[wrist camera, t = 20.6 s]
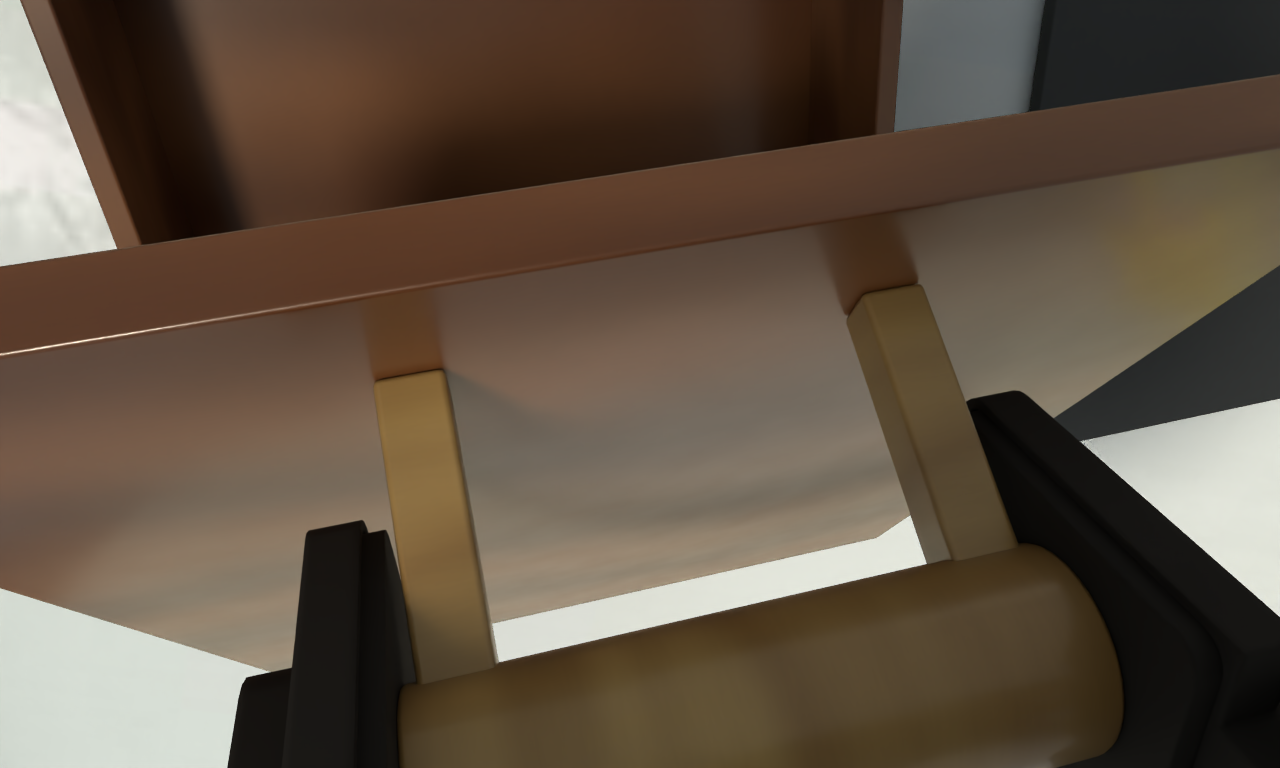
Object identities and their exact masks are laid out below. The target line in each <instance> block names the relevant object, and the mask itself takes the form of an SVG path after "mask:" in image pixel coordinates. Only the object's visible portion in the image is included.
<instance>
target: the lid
mask: <svg viewBox="0 0 1280 768" xmlns="http://www.w3.org/2000/svg"><path fill="white" fill-rule="evenodd" d="M1279 265H1280V74H1278V75H1271V76H1265V77H1258V78H1251V79H1245V80H1238V81H1231V82H1225V83H1218V84H1212V85H1205V86H1198V87H1192V88H1185V89H1178V90H1172V91H1165V92H1158V93H1152V94H1145V95H1138V96H1132V97H1125V98H1118V99H1112V100H1105V101H1098V102H1092V103H1085V104H1078V105H1072V106H1065V107H1059V108H1052V109H1045V110H1039V111H1032V112H1025V113H1019V114H1012V115H1005V116H999V117H992V118H985V119H979V120H972V121H965V122H959V123H952V124H945V125H939V126H932V127H925V128H919V129H912V130H906V131H899V132H892V133H886V134H879V135H872V136H866V137H859V138H852V139H846V140H839V141H832V142H826V143H819V144H812V145H806V146H799V147H792V148H786V149H779V150H772V151H766V152H759V153H752V154H746V155H739V156H733V157H726V158H719V159H713V160H706V161H699V162H693V163H686V164H679V165H673V166H666V167H659V168H653V169H646V170H639V171H633V172H626V173H619V174H613V175H606V176H599V177H593V178H586V179H580V180H573V181H566V182H560V183H553V184H546V185H540V186H533V187H526V188H520V189H513V190H506V191H500V192H493V193H486V194H480V195H473V196H466V197H460V198H453V199H446V200H440V201H433V202H427V203H420V204H413V205H407V206H400V207H393V208H387V209H380V210H373V211H367V212H360V213H353V214H347V215H340V216H333V217H327V218H320V219H313V220H307V221H300V222H293V223H287V224H280V225H274V226H267V227H260V228H254V229H247V230H240V231H234V232H227V233H220V234H214V235H207V236H200V237H194V238H187V239H180V240H174V241H167V242H160V243H154V244H147V245H140V246H134V247H127V248H121V249H114V250H107V251H101V252H94V253H87V254H81V255H74V256H67V257H61V258H54V259H47V260H41V261H34V262H27V263H21V264H14V265H7V266H1V267H0V588H1V589H5V590H8V591H11V592H14V593H18V594H21V595H24V596H27V597H31V598H34V599H37V600H40V601H43V602H47V603H50V604H53V605H56V606H60V607H63V608H66V609H69V610H72V611H76V612H79V613H82V614H85V615H89V616H92V617H95V618H98V619H102V620H105V621H108V622H111V623H114V624H118V625H121V626H124V627H127V628H131V629H134V630H137V631H140V632H143V633H147V634H150V635H153V636H156V637H160V638H163V639H166V640H169V641H173V642H176V643H179V644H182V645H185V646H189V647H192V648H195V649H198V650H202V651H205V652H208V653H211V654H215V655H218V656H221V657H224V658H227V659H231V660H234V661H237V662H240V663H244V664H247V665H250V666H253V667H256V668H260V669H263V670H266V671H269V672H274V671H278V670H283V669H287V668H292V661H293V652H294V642H295V632H296V622H297V613H298V603H299V593H300V584H301V574H302V564H303V554H304V545H305V537H306V533H307V532H308V531H309V530H314V529H319V528H324V527H329V526H334V525H339V524H344V523H349V522H354V521H359V520H363V521H364V522H365V524H366V526H367V529H368V532H369V533H371V532H376V531H380V530H387V532H388V535H389V538H390V541H391V545H392V549H393V552H394V556H395V560H396V563H397V567H398V571H399V575H400V578H401V583H402V590H403V597H404V604H405V611H406V618H407V625H408V631H409V638H410V645H411V652H412V659H413V666H414V672H415V679H416V682H412V683H408V684H406V685H404V686H403V687H402V688H401V690H400V693H399V698H398V706H397V746H398V761H399V768H1057V767H1061V766H1064V765H1068V764H1072V763H1075V762H1079V761H1083V760H1086V759H1090V758H1094V757H1097V756H1100V755H1102V754H1104V753H1105V752H1106V751H1107V750H1109V749H1110V748H1111V747H1112V746H1113V745H1114V743H1115V742H1116V740H1117V739H1118V736H1119V734H1120V731H1121V728H1122V724H1123V719H1124V707H1125V706H1124V688H1123V679H1122V674H1121V669H1120V664H1119V660H1118V657H1117V653H1116V650H1115V647H1114V644H1113V641H1112V638H1111V635H1110V633H1109V630H1108V628H1107V626H1106V623H1105V621H1104V619H1103V617H1102V615H1101V613H1100V611H1099V609H1098V607H1097V605H1096V603H1095V602H1094V600H1093V598H1092V597H1091V595H1090V593H1089V592H1088V590H1087V589H1086V587H1085V586H1084V585H1083V583H1082V582H1081V580H1080V579H1079V578H1078V577H1077V575H1076V574H1075V573H1074V572H1073V571H1072V569H1071V568H1070V567H1069V566H1068V565H1067V564H1066V563H1065V562H1064V561H1062V560H1061V559H1060V558H1059V557H1057V556H1056V555H1055V554H1054V553H1052V552H1050V551H1049V550H1047V549H1045V548H1043V547H1041V546H1038V545H1034V544H1029V543H1018V542H1017V539H1016V536H1015V533H1014V531H1013V528H1012V525H1011V523H1010V520H1009V517H1008V515H1007V512H1006V509H1005V506H1004V504H1003V501H1002V498H1001V496H1000V493H999V490H998V488H997V485H996V482H995V479H994V477H993V474H992V471H991V469H990V466H989V463H988V461H987V458H986V455H985V452H984V450H983V447H982V444H981V442H980V439H979V436H978V433H977V431H976V428H975V425H974V423H973V420H972V417H971V415H970V412H969V409H968V406H967V404H966V401H968V400H970V399H972V398H977V397H982V396H987V395H992V394H997V393H1002V392H1007V391H1012V390H1016V391H1021V392H1023V393H1024V394H1026V395H1027V396H1029V397H1030V398H1031V399H1032V400H1033V401H1034V402H1035V403H1037V404H1038V405H1039V406H1040V407H1041V408H1042V409H1043V410H1045V411H1046V412H1047V413H1048V414H1049V415H1050V416H1051V417H1053V418H1055V417H1056V416H1057V415H1059V414H1060V413H1062V412H1063V411H1065V410H1066V409H1068V408H1069V407H1071V406H1072V405H1074V404H1075V403H1077V402H1078V401H1080V400H1081V399H1083V398H1084V397H1086V396H1087V395H1089V394H1090V393H1091V392H1093V391H1094V390H1096V389H1097V388H1099V387H1100V386H1102V385H1103V384H1105V383H1106V382H1108V381H1109V380H1111V379H1112V378H1114V377H1115V376H1117V375H1118V374H1120V373H1121V372H1123V371H1124V370H1125V369H1127V368H1128V367H1130V366H1131V365H1133V364H1134V363H1136V362H1137V361H1139V360H1140V359H1142V358H1143V357H1145V356H1146V355H1148V354H1149V353H1151V352H1152V351H1154V350H1155V349H1157V348H1158V347H1159V346H1161V345H1162V344H1164V343H1165V342H1167V341H1168V340H1170V339H1171V338H1173V337H1174V336H1176V335H1177V334H1179V333H1180V332H1182V331H1183V330H1185V329H1186V328H1188V327H1189V326H1191V325H1192V324H1193V323H1195V322H1196V321H1198V320H1199V319H1201V318H1202V317H1204V316H1205V315H1207V314H1208V313H1210V312H1211V311H1213V310H1214V309H1216V308H1217V307H1219V306H1220V305H1222V304H1223V303H1225V302H1226V301H1227V300H1229V299H1230V298H1232V297H1233V296H1235V295H1236V294H1238V293H1239V292H1241V291H1242V290H1244V289H1245V288H1247V287H1248V286H1250V285H1251V284H1253V283H1254V282H1256V281H1257V280H1259V279H1260V278H1261V277H1263V276H1264V275H1266V274H1267V273H1269V272H1270V271H1272V270H1273V269H1275V268H1276V267H1278V266H1279ZM910 515H911V518H912V521H913V524H914V527H915V530H916V533H917V536H918V539H919V542H920V545H921V548H922V551H923V554H924V557H925V560H926V563H927V564H925V565H921V566H917V567H912V568H908V569H904V570H899V571H895V572H891V573H886V574H882V575H877V576H873V577H869V578H864V579H860V580H856V581H851V582H847V583H843V584H838V585H834V586H830V587H825V588H821V589H817V590H812V591H808V592H804V593H799V594H795V595H790V596H786V597H782V598H777V599H773V600H769V601H764V602H760V603H756V604H751V605H747V606H743V607H738V608H734V609H730V610H725V611H721V612H716V613H712V614H708V615H703V616H699V617H695V618H690V619H686V620H682V621H677V622H673V623H669V624H664V625H660V626H656V627H651V628H647V629H643V630H638V631H634V632H629V633H625V634H621V635H616V636H612V637H608V638H603V639H599V640H595V641H590V642H586V643H582V644H577V645H573V646H569V647H564V648H560V649H555V650H551V651H547V652H542V653H538V654H534V655H529V656H525V657H521V658H516V659H512V660H508V661H503V662H499V660H498V655H497V649H496V643H495V638H494V632H493V626H492V624H493V623H497V622H501V621H506V620H510V619H515V618H519V617H524V616H528V615H533V614H537V613H542V612H546V611H551V610H555V609H560V608H564V607H569V606H573V605H578V604H582V603H587V602H591V601H596V600H600V599H605V598H609V597H614V596H618V595H623V594H627V593H632V592H636V591H641V590H645V589H649V588H654V587H658V586H663V585H667V584H672V583H676V582H681V581H685V580H690V579H694V578H699V577H703V576H708V575H712V574H717V573H721V572H726V571H730V570H735V569H739V568H744V567H748V566H753V565H757V564H762V563H766V562H771V561H775V560H780V559H784V558H789V557H793V556H797V555H802V554H806V553H811V552H815V551H820V550H824V549H829V548H833V547H838V546H842V545H847V544H851V543H856V542H860V541H865V540H869V539H874V538H877V537H879V536H880V535H882V534H883V533H885V532H886V531H887V530H889V529H890V528H892V527H893V526H895V525H896V524H898V523H899V522H901V521H902V520H904V519H905V518H907V517H908V516H910Z"/></svg>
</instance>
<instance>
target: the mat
mask: <svg viewBox="0 0 1280 768" xmlns="http://www.w3.org/2000/svg"><path fill="white" fill-rule="evenodd" d="M1278 74H1280V0H1046V2H1045V9H1044V16H1043V22H1042V29H1041V36H1040V43H1039V50H1038V56H1037V63H1036V70H1035V77H1034V84H1033V90H1032V97H1031V104H1030V111H1029V112H1032V111H1039V110H1045V109H1052V108H1059V107H1065V106H1072V105H1078V104H1085V103H1092V102H1098V101H1105V100H1112V99H1118V98H1125V97H1132V96H1138V95H1145V94H1152V93H1158V92H1165V91H1172V90H1178V89H1185V88H1192V87H1198V86H1205V85H1212V84H1218V83H1225V82H1231V81H1238V80H1245V79H1251V78H1258V77H1265V76H1271V75H1278ZM1275 399H1280V265H1279V266H1278V267H1276V268H1275V269H1273V270H1272V271H1270V272H1269V273H1267V274H1266V275H1264V276H1263V277H1261V278H1260V279H1259V280H1257V281H1256V282H1254V283H1253V284H1251V285H1250V286H1248V287H1247V288H1245V289H1244V290H1242V291H1241V292H1239V293H1238V294H1236V295H1235V296H1233V297H1232V298H1230V299H1229V300H1227V301H1226V302H1225V303H1223V304H1222V305H1220V306H1219V307H1217V308H1216V309H1214V310H1213V311H1211V312H1210V313H1208V314H1207V315H1205V316H1204V317H1202V318H1201V319H1199V320H1198V321H1196V322H1195V323H1193V324H1192V325H1191V326H1189V327H1188V328H1186V329H1185V330H1183V331H1182V332H1180V333H1179V334H1177V335H1176V336H1174V337H1173V338H1171V339H1170V340H1168V341H1167V342H1165V343H1164V344H1162V345H1161V346H1159V347H1158V348H1157V349H1155V350H1154V351H1152V352H1151V353H1149V354H1148V355H1146V356H1145V357H1143V358H1142V359H1140V360H1139V361H1137V362H1136V363H1134V364H1133V365H1131V366H1130V367H1128V368H1127V369H1125V370H1124V371H1123V372H1121V373H1120V374H1118V375H1117V376H1115V377H1114V378H1112V379H1111V380H1109V381H1108V382H1106V383H1105V384H1103V385H1102V386H1100V387H1099V388H1097V389H1096V390H1094V391H1093V392H1091V393H1090V394H1089V395H1087V396H1086V397H1084V398H1083V399H1081V400H1080V401H1078V402H1077V403H1075V404H1074V405H1072V406H1071V407H1069V408H1068V409H1066V410H1065V411H1063V412H1062V413H1060V414H1059V415H1057V416H1056V417H1055V418H1054V419H1055V420H1056V421H1057V422H1058V423H1059V424H1060V425H1062V426H1063V427H1064V428H1065V429H1066V430H1067V431H1068V432H1070V433H1071V434H1072V435H1073V436H1074V437H1075V438H1076V439H1078V440H1079V441H1083V440H1088V439H1092V438H1097V437H1102V436H1106V435H1111V434H1116V433H1121V432H1125V431H1130V430H1135V429H1139V428H1144V427H1149V426H1153V425H1158V424H1163V423H1167V422H1172V421H1177V420H1181V419H1186V418H1191V417H1196V416H1200V415H1205V414H1210V413H1214V412H1219V411H1224V410H1228V409H1233V408H1238V407H1242V406H1247V405H1252V404H1256V403H1261V402H1266V401H1271V400H1275Z"/></svg>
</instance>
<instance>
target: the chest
mask: <svg viewBox="0 0 1280 768" xmlns="http://www.w3.org/2000/svg"><path fill="white" fill-rule="evenodd" d="M20 1H21V4H22V6H23V9H24V11H25V14H26V16H27V19H28V22H29V24H30V27H31V29H32V32H33V34H34V37H35V39H36V42H37V45H38V47H39V50H40V52H41V55H42V57H43V60H44V62H45V65H46V68H47V70H48V73H49V75H50V78H51V80H52V83H53V85H54V88H55V91H56V93H57V96H58V98H59V101H60V103H61V106H62V108H63V111H64V114H65V116H66V119H67V121H68V124H69V126H70V129H71V131H72V134H73V137H74V139H75V142H76V144H77V147H78V149H79V152H80V154H81V157H82V160H83V162H84V165H85V167H86V170H87V172H88V175H89V177H90V180H91V183H92V185H93V188H94V190H95V193H96V195H97V198H98V200H99V203H100V206H101V208H102V211H103V213H104V216H105V218H106V221H107V223H108V226H109V229H110V231H111V234H112V236H113V239H114V241H115V244H116V247H117V249H121V248H127V247H134V246H140V245H147V244H154V243H160V242H167V241H174V240H180V239H187V238H194V237H200V236H207V235H214V234H220V233H227V232H234V231H240V230H247V229H254V228H260V227H267V226H274V225H280V224H287V223H293V222H300V221H307V220H313V219H320V218H327V217H333V216H340V215H347V214H353V213H360V212H367V211H373V210H380V209H387V208H393V207H400V206H407V205H413V204H420V203H427V202H433V201H440V200H446V199H453V198H460V197H466V196H473V195H480V194H486V193H493V192H500V191H506V190H513V189H520V188H526V187H533V186H540V185H546V184H553V183H560V182H566V181H573V180H580V179H586V178H593V177H599V176H606V175H613V174H619V173H626V172H633V171H639V170H646V169H653V168H659V167H666V166H673V165H679V164H686V163H693V162H699V161H706V160H713V159H719V158H726V157H733V156H739V155H746V154H752V153H759V152H766V151H772V150H779V149H786V148H792V147H799V146H806V145H812V144H819V143H826V142H832V141H839V140H846V139H852V138H859V137H866V136H872V135H879V134H886V133H892V132H894V123H895V109H896V95H897V81H898V68H899V54H900V40H901V26H902V13H903V0H20Z"/></svg>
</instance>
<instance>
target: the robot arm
mask: <svg viewBox="0 0 1280 768" xmlns="http://www.w3.org/2000/svg"><path fill="white" fill-rule="evenodd" d="M966 404H967V406H968V409H969V412H970V415H971V417H972V420H973V423H974V425H975V428H976V431H977V433H978V436H979V439H980V442H981V444H982V447H983V450H984V452H985V455H986V458H987V461H988V463H989V466H990V469H991V471H992V474H993V477H994V479H995V482H996V485H997V488H998V490H999V493H1000V496H1001V498H1002V501H1003V504H1004V506H1005V509H1006V512H1007V515H1008V517H1009V520H1010V523H1011V525H1012V528H1013V531H1014V533H1015V536H1016V539H1017V542H1018V543H1029V544H1034V545H1038V546H1041V547H1043V548H1045V549H1047V550H1049V551H1050V552H1052V553H1054V554H1055V555H1056V556H1057V557H1059V558H1060V559H1061V560H1062V561H1064V562H1065V563H1066V564H1067V565H1068V566H1069V567H1070V568H1071V569H1072V571H1073V572H1074V573H1075V574H1076V575H1077V577H1078V578H1079V579H1080V580H1081V582H1082V583H1083V585H1084V586H1085V587H1086V589H1087V590H1088V592H1089V593H1090V595H1091V597H1092V598H1093V600H1094V602H1095V603H1096V605H1097V607H1098V609H1099V611H1100V613H1101V615H1102V617H1103V619H1104V621H1105V623H1106V626H1107V628H1108V630H1109V633H1110V635H1111V638H1112V641H1113V644H1114V647H1115V650H1116V653H1117V657H1118V660H1119V664H1120V669H1121V674H1122V679H1123V688H1124V706H1125V707H1124V719H1123V724H1122V728H1121V731H1120V734H1119V736H1118V739H1117V740H1116V742H1115V743H1114V745H1113V746H1112V747H1111V748H1110V749H1109V750H1107V751H1106V752H1105V753H1104V754H1102V755H1100V756H1097V757H1094V758H1090V759H1086V760H1083V761H1079V762H1075V763H1072V764H1068V765H1064V766H1061V767H1057V768H1280V617H1279V616H1278V615H1277V614H1276V613H1274V612H1273V611H1272V610H1271V609H1270V608H1269V607H1268V606H1266V605H1265V604H1264V603H1263V602H1262V601H1261V600H1260V599H1258V598H1257V597H1256V596H1255V595H1254V594H1253V593H1252V592H1251V591H1249V590H1248V589H1247V588H1246V587H1245V586H1244V585H1243V584H1241V583H1240V582H1239V581H1238V580H1237V579H1236V578H1235V577H1233V576H1232V575H1231V574H1230V573H1229V572H1228V571H1227V570H1225V569H1224V568H1223V567H1222V566H1221V565H1220V564H1219V563H1218V562H1216V561H1215V560H1214V559H1213V558H1212V557H1211V556H1210V555H1208V554H1207V553H1206V552H1205V551H1204V550H1203V549H1202V548H1200V547H1199V546H1198V545H1197V544H1196V543H1195V542H1194V541H1192V540H1191V539H1190V538H1189V537H1188V536H1187V535H1186V534H1185V533H1183V532H1182V531H1181V530H1180V529H1179V528H1178V527H1177V526H1175V525H1174V524H1173V523H1172V522H1171V521H1170V520H1169V519H1167V518H1166V517H1165V516H1164V515H1163V514H1162V513H1161V512H1159V511H1158V510H1157V509H1156V508H1155V507H1154V506H1153V505H1152V504H1150V503H1149V502H1148V501H1147V500H1146V499H1145V498H1144V497H1142V496H1141V495H1140V494H1139V493H1138V492H1137V491H1136V490H1134V489H1133V488H1132V487H1131V486H1130V485H1129V484H1128V483H1126V482H1125V481H1124V480H1123V479H1122V478H1121V477H1120V476H1119V475H1117V474H1116V473H1115V472H1114V471H1113V470H1112V469H1111V468H1109V467H1108V466H1107V465H1106V464H1105V463H1104V462H1103V461H1101V460H1100V459H1099V458H1098V457H1097V456H1096V455H1095V454H1093V453H1092V452H1091V451H1090V450H1089V449H1088V448H1087V447H1086V446H1084V445H1083V444H1082V443H1081V442H1080V441H1079V440H1078V439H1076V438H1075V437H1074V436H1073V435H1072V434H1071V433H1070V432H1068V431H1067V430H1066V429H1065V428H1064V427H1063V426H1062V425H1060V424H1059V423H1058V422H1057V421H1056V420H1055V419H1054V418H1053V417H1051V416H1050V415H1049V414H1048V413H1047V412H1046V411H1045V410H1043V409H1042V408H1041V407H1040V406H1039V405H1038V404H1037V403H1035V402H1034V401H1033V400H1032V399H1031V398H1030V397H1029V396H1027V395H1026V394H1024V393H1023V392H1021V391H1016V390H1012V391H1007V392H1002V393H997V394H992V395H987V396H982V397H977V398H972V399H970V400H968V401H966ZM412 682H416V679H415V672H414V666H413V659H412V652H411V645H410V638H409V631H408V625H407V618H406V611H405V604H404V597H403V590H402V583H401V578H400V575H399V571H398V567H397V563H396V560H395V556H394V552H393V549H392V545H391V541H390V538H389V535H388V532H387V530H380V531H376V532H371V533H369V532H368V529H367V526H366V524H365V522H364V521H363V520H359V521H354V522H349V523H344V524H339V525H334V526H329V527H324V528H319V529H314V530H309V531H308V532H307V533H306V537H305V545H304V554H303V564H302V574H301V584H300V593H299V603H298V613H297V622H296V632H295V642H294V652H293V661H292V668H287V669H283V670H278V671H274V672H269V673H265V674H260V675H256V676H251V677H247V678H246V680H245V681H244V683H243V684H242V687H241V691H240V695H239V699H238V705H237V711H236V717H235V724H234V730H233V736H232V742H231V749H230V755H229V761H228V767H227V768H399V761H398V746H397V706H398V698H399V693H400V690H401V688H402V687H403V686H404V685H406V684H408V683H412Z"/></svg>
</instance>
